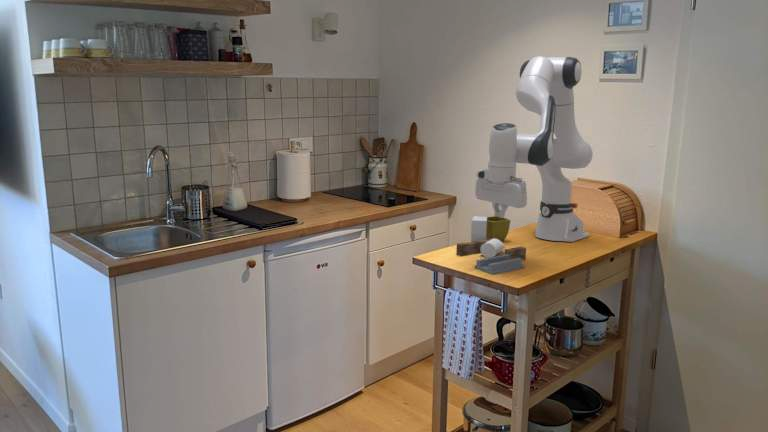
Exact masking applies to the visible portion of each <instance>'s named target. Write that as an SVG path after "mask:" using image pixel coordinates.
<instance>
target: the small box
mask: <svg viewBox="0 0 768 432" xmlns="http://www.w3.org/2000/svg"><path fill="white" fill-rule="evenodd" d="M487 217H488V216H475V215H474V216H472V220H471V226H470V228H471V229H470V230H471V233H470V242H471V241H477V240H483V239H486V236H487Z"/></svg>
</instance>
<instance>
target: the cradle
mask: <svg viewBox="0 0 768 432" xmlns="http://www.w3.org/2000/svg"><path fill="white" fill-rule="evenodd" d="M524 268H525V266H524V264H523V260H522V259H521V258H516V259H511V260H510V255H508V254H505V255H504V254H502V255H501V254H500V255H495V256H494V257H489V258H486V257H484V258H480V259H476V264H475V265H474V269H476V270H478V271H481V272H484V273H487V274H490V275H492V276H494V275H499V274H502V273H507V272H513V271H516V270H521V269H524Z"/></svg>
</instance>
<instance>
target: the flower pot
mask: <svg viewBox="0 0 768 432" xmlns="http://www.w3.org/2000/svg"><path fill="white" fill-rule="evenodd" d="M486 217H487V236H486V239H489V238H490V239H494V238H495V239H498V240H500V241H501V242H502V243H504V241H505V239H506V238H507V236H508V234H509V231H510V226H511V219H509V218H507V217H504V218H499V217H495V216H494V215H492V216H486Z"/></svg>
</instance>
